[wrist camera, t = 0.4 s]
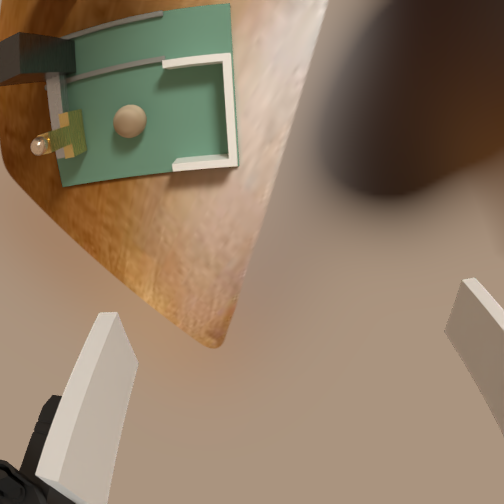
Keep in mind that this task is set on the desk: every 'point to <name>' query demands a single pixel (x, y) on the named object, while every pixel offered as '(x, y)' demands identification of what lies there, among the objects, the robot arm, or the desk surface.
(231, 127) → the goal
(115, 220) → the desk surface
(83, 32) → the board
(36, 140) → the block
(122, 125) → the ball
